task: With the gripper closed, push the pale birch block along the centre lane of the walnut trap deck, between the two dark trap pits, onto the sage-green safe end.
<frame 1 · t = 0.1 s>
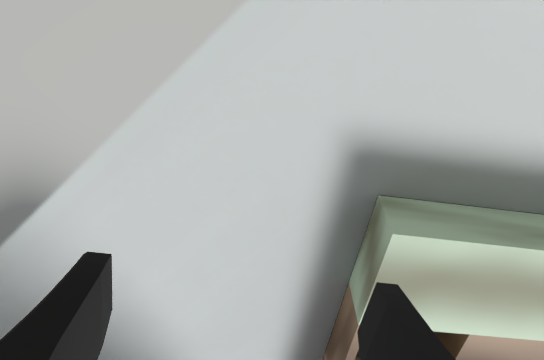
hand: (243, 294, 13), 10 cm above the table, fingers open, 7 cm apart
trap deck: (481, 353, 31), on the table
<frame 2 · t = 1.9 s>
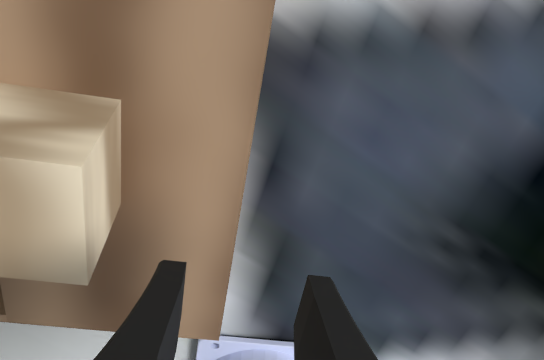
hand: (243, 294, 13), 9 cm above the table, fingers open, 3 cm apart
birch block: (58, 147, 18), point 3 cm above the table, touching trap deck
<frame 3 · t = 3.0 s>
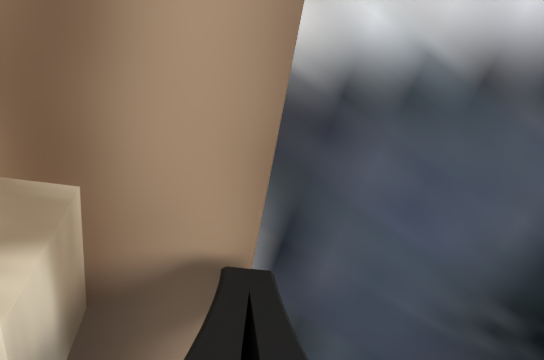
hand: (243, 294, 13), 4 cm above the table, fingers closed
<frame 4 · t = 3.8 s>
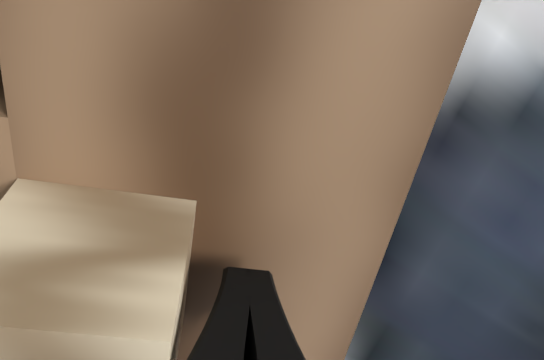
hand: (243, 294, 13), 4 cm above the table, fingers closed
trap deck: (31, 183, 16), on the table
birch block: (109, 255, 14), point 3 cm above the table, touching gripper
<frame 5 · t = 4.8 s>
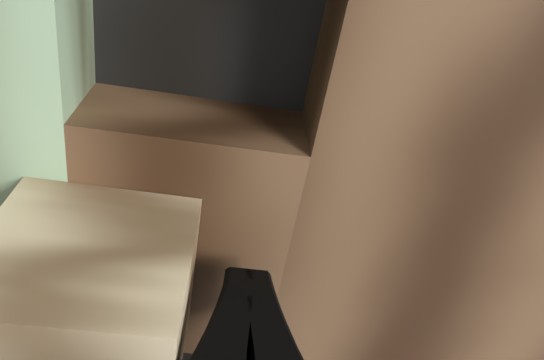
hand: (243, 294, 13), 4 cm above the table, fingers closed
trap deck: (250, 209, 17), on the table
birch block: (115, 253, 14), point 3 cm above the table, touching gripper
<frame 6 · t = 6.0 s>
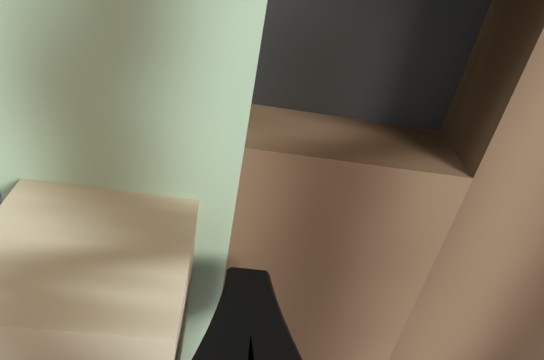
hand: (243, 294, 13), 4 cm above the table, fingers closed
trap deck: (370, 223, 17), on the table
birch block: (112, 254, 14), point 3 cm above the table, touching gripper, trap deck
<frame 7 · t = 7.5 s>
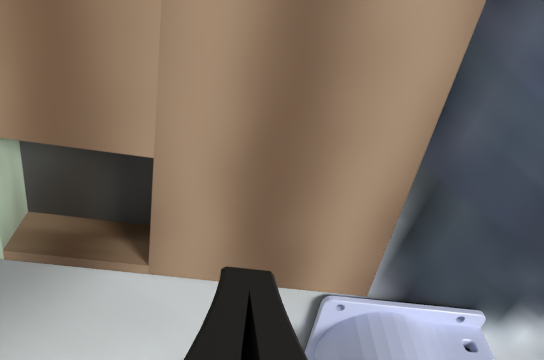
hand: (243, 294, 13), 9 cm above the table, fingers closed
trap deck: (144, 23, 18), on the table
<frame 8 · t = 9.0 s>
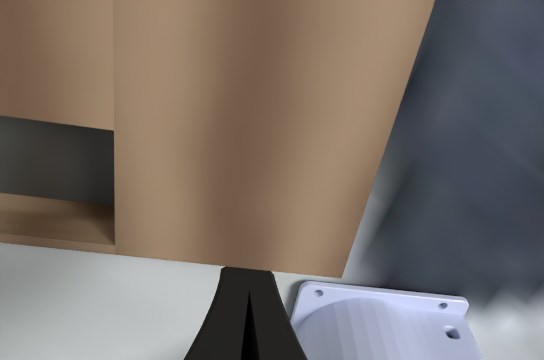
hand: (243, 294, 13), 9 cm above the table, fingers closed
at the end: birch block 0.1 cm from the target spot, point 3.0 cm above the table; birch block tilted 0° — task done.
